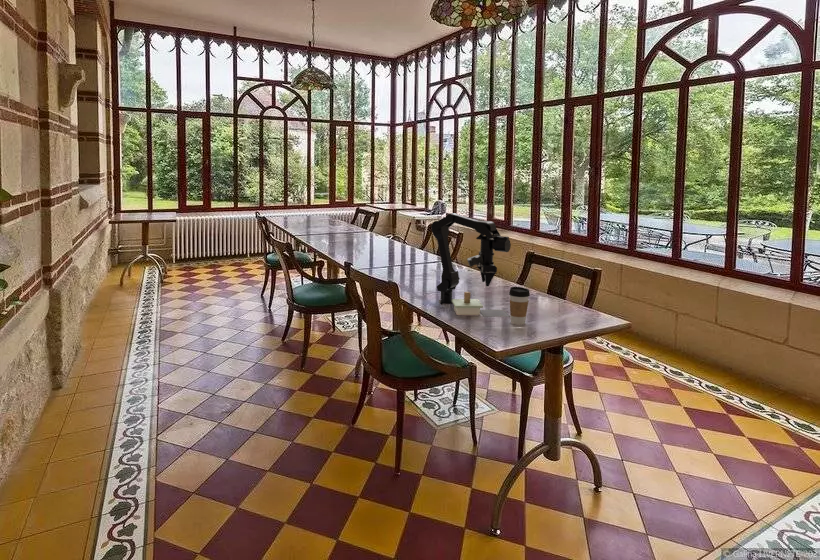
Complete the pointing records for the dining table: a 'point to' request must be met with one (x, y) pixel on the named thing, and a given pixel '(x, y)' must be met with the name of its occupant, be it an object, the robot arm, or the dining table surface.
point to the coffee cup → (518, 304)
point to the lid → (467, 302)
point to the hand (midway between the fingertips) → (485, 284)
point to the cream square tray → (467, 311)
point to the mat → (494, 313)
